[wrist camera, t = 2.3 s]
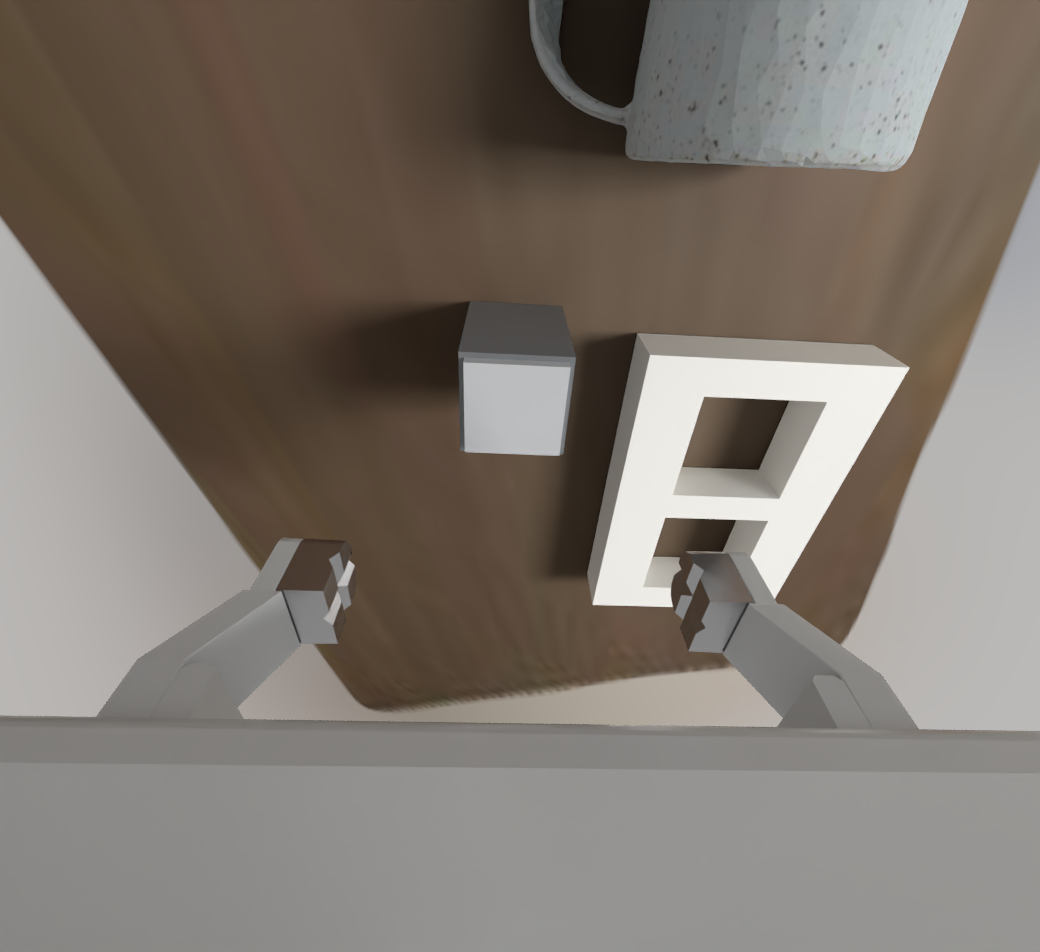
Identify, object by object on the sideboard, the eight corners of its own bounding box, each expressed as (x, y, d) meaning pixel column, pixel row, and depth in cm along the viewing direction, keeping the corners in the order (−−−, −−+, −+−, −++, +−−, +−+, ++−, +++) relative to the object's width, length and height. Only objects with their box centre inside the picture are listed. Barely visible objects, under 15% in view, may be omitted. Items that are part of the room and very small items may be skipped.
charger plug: (469, 301, 20) (457, 356, 16) (562, 306, 21) (577, 362, 16) (470, 385, 23) (459, 456, 18) (553, 389, 23) (563, 460, 18)
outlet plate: (637, 332, 21) (650, 354, 19) (873, 345, 22) (909, 367, 20) (587, 573, 31) (592, 604, 29) (752, 578, 31) (768, 609, 29)
